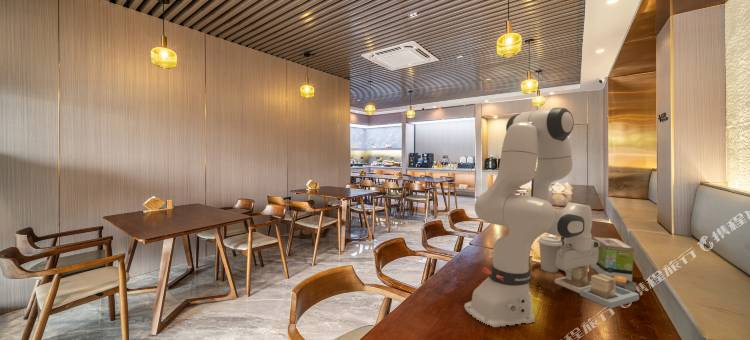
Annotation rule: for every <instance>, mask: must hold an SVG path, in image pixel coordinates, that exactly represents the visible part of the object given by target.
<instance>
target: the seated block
mask: <svg viewBox="0 0 750 340" xmlns="http://www.w3.org/2000/svg"><path fill="white" fill-rule="evenodd" d="M590 281H591V293H592V294H594V295H597V296H599V297H602V298H604V299H607V300H608V299H611V298H615V283H616V279H614V278H611V277H608V276H606V275H603V274H599V273H597V274H593V275H591V277H590Z"/></svg>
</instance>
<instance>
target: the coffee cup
mask: <svg viewBox="0 0 750 340" xmlns="http://www.w3.org/2000/svg"><path fill="white" fill-rule="evenodd" d="M537 243H539V244H538V245H539V257H540V258H539V259H540V269H541V270H543V272H548V273H557V272H559V269H558V268H557V267H556V265H555V263H556V255H557V251H558V250H559V249H560V247H561V246H562V245H563V243H562V242H561V238H559V237H557V236H556V237H555V236H550V235H542V236H540V237H539V238H538V241H537Z"/></svg>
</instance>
